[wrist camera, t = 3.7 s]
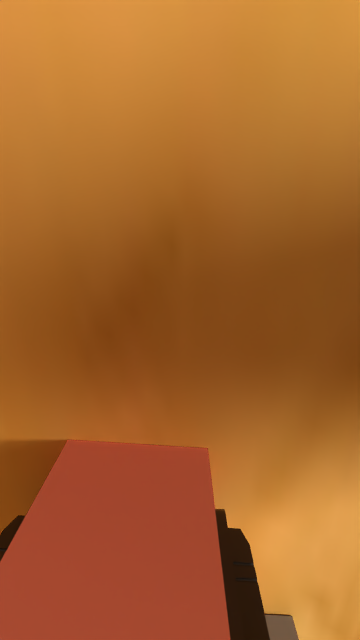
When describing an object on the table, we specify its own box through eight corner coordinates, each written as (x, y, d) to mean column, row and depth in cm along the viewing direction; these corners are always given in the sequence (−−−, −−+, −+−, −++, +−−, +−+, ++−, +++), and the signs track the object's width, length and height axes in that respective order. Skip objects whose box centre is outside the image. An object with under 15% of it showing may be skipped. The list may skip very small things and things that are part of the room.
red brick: (207, 448, 11) (238, 706, 5) (196, 550, 12) (208, 844, 6) (68, 439, 10) (-72, 690, 5) (72, 543, 12) (-30, 833, 6)
